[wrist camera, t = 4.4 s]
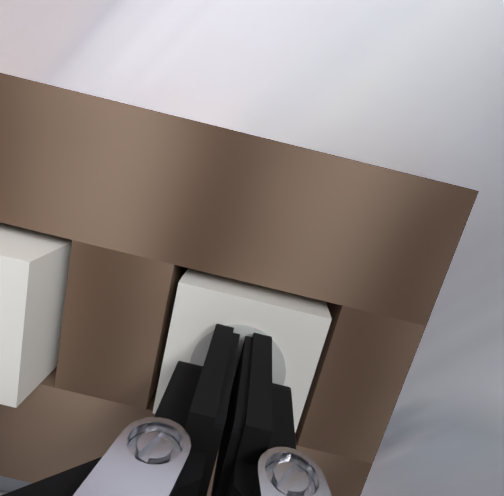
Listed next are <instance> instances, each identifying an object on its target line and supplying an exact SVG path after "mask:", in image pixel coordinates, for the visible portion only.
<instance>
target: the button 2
mask: <svg viewBox="0 0 504 496" xmlns="http://www.w3.org/2000/svg"><path fill="white" fill-rule="evenodd" d="M331 320H332V318H331V315H330V312H329V309H328V307H327V304H326V301H322V300H317V299H313V298H309V297H305V296H301V295H297V294H293V293H289V292H285V291H280V290H276V289H272V288H268V287H264V286H260V285H256V284H252V283H247V282H243V281H239V280H235V279H231V278H227V277H223V276H219V275H215V274H210V273H206V272H202V271H198V270H194V269H190V268H188V269H187V271H186V272H185V274H184V275H183V276H182V278H181V279H180V281H179V283H178V288H177V293H176V298H175V303H174V308H173V313H172V318H171V323H170V328H169V333H168V337H167V342H166V347H165V352H164V357H163V362H162V367H161V372H160V377H159V382H158V387H157V392H156V397H155V402H154V407H153V412H152V413H154V414H155V413H156V411H157V408H158V406H159V404H160V401H161V399H162V397H163V395H164V392H165V390H166V388H167V385H168V383H169V381H170V378H171V376H172V374H173V372H174V369H175V367H176V365H177V363H178V361H183V362H187V363H191V364H195V365H200V366H203V365H204V362H205V359H206V355H207V352H208V349H209V346H210V342H211V339H212V336H213V333H214V330H215V326H216V323H217V324H221V325H225V326H229V327H234V331H233V333H237V334H240V338H239V344H238V350H237V357H236V363H235V369H234V375H233V381H232V386H233V382H234V378H235V374H236V370H237V367H238V363H239V359H240V355H241V351H242V347H243V343H244V339H245V336H250V337H252V336H253V333H258V334H263V335H267V336H271V337H272V383H275V384H279V385H283V386H288V387H290V388H291V393H292V405H293V417H294V429H295V433H296V430H297V427H298V424H299V421H300V417H301V414H302V411H303V408H304V405H305V402H306V399H307V395H308V392H309V389H310V386H311V383H312V380H313V377H314V373H315V370H316V367H317V364H318V361H319V358H320V355H321V351H322V348H323V345H324V342H325V339H326V336H327V333H328V329H329V326H330V323H331ZM231 390H232V387H231ZM230 394H231V393H230Z"/></svg>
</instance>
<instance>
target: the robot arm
mask: <svg viewBox="0 0 504 496" xmlns="http://www.w3.org/2000/svg"><path fill="white" fill-rule="evenodd" d="M233 331H234V327H229V326H225V325H221V324H217V323H216V326H215V330H214V333H213V336H212V339H211V342H210V346H209V349H208V352H207V355H206V359H205V362H204V365H203V366H200V365H195V364H191V363H187V362H183V361H178V363H177V365H176V367H175V369H174V372H173V374H172V376H171V378H170V381H169V383H168V385H167V388H166V390H165V392H164V395H163V397H162V399H161V401H160V404H159V406H158V408H157V411H156V413H155V415H154V417H147V418H142V419H139V420H136V421H134V422H132V423H130V424H129V425H128V426H127V427H126V428H125V429H124V430H123V431H122V432H121V434H120V435H119V436H118V438H117V439H116V440H115V441H114V443H113V444H112V445H111V447H110V448H109V449H108V451H107V452H106V453H105V454H104V456H102V457H100V458H97V459H95V460H92V461H89V462H87V463H84V464H82V465H79V466H76V467H74V468H71V469H69V470H66V471H63V472H61V473H58V474H56V475H53V476H50V477H48V478H45V479H42V480H40V481H37V482H35V483H32V484H29V485H27V486H24V487H22V488H19V489H16V490H14V491H11V492H9V493H6V494H3V495H1V496H207V492H208V488H209V484H210V480H211V477H212V473H213V469H214V465H215V461H216V457H217V462H216V468H215V474H214V479H213V485H212V491H211V496H331V493H330V490H329V487H328V484H327V481H326V478H325V476H324V474H323V472H322V470H321V468H320V467H319V466H318V465H317V463H316V462H315V461H314V460H313V459H311V458H310V457H309V456H308V455H306V454H305V453H303V452H301V451H298V450H296V441H295V429H294V417H293V405H292V393H291V388H290V387H288V386H283V385H279V384H275V383H272V337H271V336H267V335H263V334H258V333H253V336H252V337H250V336H245V339H244V343H243V347H242V351H241V355H240V359H239V363H238V367H237V370H236V374H235V378H234V382H233V386H232V381H233V375H234V369H235V363H236V357H237V350H238V344H239V338H240V334H237V333H233ZM231 387H232V390H231ZM230 393H231V394H230ZM217 453H218V456H217Z"/></svg>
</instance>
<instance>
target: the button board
mask: <svg viewBox="0 0 504 496" xmlns="http://www.w3.org/2000/svg"><path fill="white" fill-rule="evenodd" d="M478 192H479V191H476V190H472V189H468V188H464V187H460V186H456V185H452V184H448V183H444V182H439V181H435V180H431V179H427V178H423V177H419V176H415V175H411V174H407V173H403V172H399V171H395V170H391V169H387V168H383V167H379V166H375V165H371V164H367V163H363V162H359V161H355V160H350V159H346V158H342V157H338V156H334V155H330V154H326V153H322V152H318V151H314V150H310V149H306V148H302V147H298V146H294V145H290V144H286V143H282V142H278V141H274V140H270V139H266V138H261V137H257V136H253V135H249V134H245V133H241V132H237V131H233V130H229V129H225V128H221V127H217V126H213V125H209V124H205V123H201V122H197V121H193V120H189V119H185V118H181V117H176V116H172V115H168V114H164V113H160V112H156V111H152V110H148V109H144V108H140V107H136V106H132V105H128V104H124V103H120V102H116V101H112V100H108V99H104V98H100V97H96V96H92V95H87V94H83V93H79V92H75V91H71V90H67V89H63V88H59V87H55V86H51V85H47V84H43V83H39V82H35V81H31V80H27V79H23V78H19V77H15V76H11V75H7V74H3V73H0V222H1V223H5V224H9V225H13V226H17V227H21V228H25V229H29V230H33V231H38V232H42V233H46V234H50V235H54V236H58V237H62V238H66V239H71V240H72V246H71V254H70V262H69V271H68V279H67V287H66V295H65V304H64V312H63V320H62V329H61V337H60V345H59V353H58V362H57V367H56V368H55V369H54V370H53V371H52V372H51V373H50V374H49V375H48V376H47V377H46V378H45V379H44V380H43V381H42V382H41V383H40V384H39V385H38V386H37V387H36V388H35V389H34V390H33V391H32V392H31V393H30V394H29V395H28V396H27V397H26V398H25V399H24V400H23V401H22V402H21V404H20V405H19V406H18V407H17V408H14V407H10V406H6V405H2V404H0V476H4V477H8V478H12V479H17V480H21V481H25V482H29V483H35V482H37V481H40V480H42V479H45V478H48V477H50V476H53V475H56V474H58V473H61V472H63V471H66V470H69V469H71V468H74V467H76V466H79V465H82V464H84V463H87V462H89V461H92V460H95V459H97V458H100V457H102V456H104V454H105V453H106V452H107V451H108V449H109V448H110V447H111V445H112V444H113V443H114V441H115V440H116V439H117V438H118V436H119V435H120V434H121V432H122V431H123V430H124V429H125V428H126V427H127V426H128V425H129V424H130V423H132V422H134V421H136V420H139V419H142V418H147V417H154V415H155V414H154V413H152V412H153V407H154V402H155V397H156V392H157V387H158V382H159V377H160V372H161V367H162V362H163V357H164V352H165V347H166V342H167V337H168V333H169V328H170V323H171V318H172V313H173V308H174V303H175V298H176V293H177V288H178V283H179V281H180V279H181V278H182V276H183V275H184V274H185V272H186V271H187V269H188V268H190V269H194V270H198V271H202V272H206V273H210V274H215V275H219V276H223V277H227V278H231V279H235V280H239V281H243V282H247V283H252V284H256V285H260V286H264V287H268V288H272V289H276V290H280V291H285V292H289V293H293V294H297V295H301V296H305V297H309V298H313V299H317V300H322V301H326V304H327V307H328V309H329V312H330V315H331V318H332V320H331V323H330V326H329V329H328V333H327V336H326V339H325V342H324V345H323V348H322V351H321V355H320V358H319V361H318V364H317V367H316V370H315V373H314V377H313V380H312V383H311V386H310V389H309V392H308V395H307V399H306V402H305V405H304V408H303V411H302V414H301V417H300V421H299V424H298V427H297V430H296V433H295V441H296V450H298V451H301V452H303V453H305V454H306V455H308V456H309V457H310V458H311V459H313V460H314V461H315V462H316V463H317V465H318V466H319V467H320V468H321V470H322V472H323V474H324V476H325V478H326V481H327V484H328V487H329V490H330V493H331V496H360V494H361V492H362V489H363V487H364V484H365V482H366V479H367V476H368V474H369V471H370V469H371V466H372V464H373V461H374V458H375V456H376V453H377V451H378V448H379V446H380V443H381V440H382V438H383V435H384V433H385V430H386V428H387V425H388V422H389V420H390V417H391V415H392V412H393V410H394V407H395V405H396V402H397V399H398V397H399V394H400V392H401V389H402V387H403V384H404V381H405V379H406V376H407V374H408V371H409V369H410V366H411V363H412V361H413V358H414V356H415V353H416V351H417V348H418V346H419V343H420V340H421V338H422V335H423V333H424V330H425V328H426V325H427V322H428V320H429V317H430V315H431V312H432V310H433V307H434V304H435V302H436V299H437V297H438V294H439V292H440V289H441V286H442V284H443V281H444V279H445V276H446V274H447V271H448V269H449V266H450V263H451V261H452V258H453V256H454V253H455V251H456V248H457V245H458V243H459V240H460V238H461V235H462V233H463V230H464V227H465V225H466V222H467V220H468V217H469V215H470V212H471V209H472V207H473V204H474V202H475V199H476V197H477V194H478ZM217 456H218V453H217ZM216 462H217V457H216V461H215V465H214V469H213V473H212V477H211V480H210V484H209V488H208V492H207V496H211V491H212V485H213V479H214V474H215V468H216Z"/></svg>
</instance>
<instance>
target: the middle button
mask: <svg viewBox="0 0 504 496" xmlns="http://www.w3.org/2000/svg"><path fill="white" fill-rule="evenodd" d="M71 246H72V240H71V239H66V238H62V237H58V236H54V235H50V234H46V233H42V232H38V231H33V230H29V229H25V228H21V227H17V226H13V225H9V224H5V223H1V222H0V404H2V405H6V406H10V407H14V408H17V407H18V406H19V405H20V404H21V402H22V401H23V400H24V399H25V398H26V397H27V396H28V395H29V394H30V393H31V392H32V391H33V390H34V389H35V388H36V387H37V386H38V385H39V384H40V383H41V382H42V381H43V380H44V379H45V378H46V377H47V376H48V375H49V374H50V373H51V372H52V371H53V370H54V369H55V368H56V367H57V362H58V353H59V345H60V337H61V329H62V320H63V312H64V304H65V295H66V287H67V279H68V271H69V262H70V254H71Z"/></svg>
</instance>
